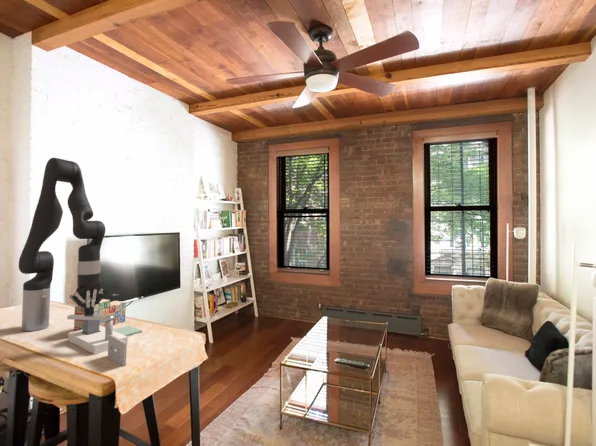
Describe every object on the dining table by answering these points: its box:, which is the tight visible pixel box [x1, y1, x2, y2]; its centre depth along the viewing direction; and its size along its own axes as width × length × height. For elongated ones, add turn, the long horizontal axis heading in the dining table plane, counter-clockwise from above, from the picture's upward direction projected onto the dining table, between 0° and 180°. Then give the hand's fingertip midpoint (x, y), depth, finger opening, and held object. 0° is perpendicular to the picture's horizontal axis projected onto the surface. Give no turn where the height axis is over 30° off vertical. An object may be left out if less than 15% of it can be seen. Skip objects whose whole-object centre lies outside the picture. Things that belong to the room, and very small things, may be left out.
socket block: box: [67, 320, 129, 355], centre depth 126 cm, size 21×12×10 cm, turn 58°
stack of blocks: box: [73, 298, 127, 332], centre depth 144 cm, size 21×6×12 cm, turn 165°
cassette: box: [107, 334, 128, 367], centre depth 111 cm, size 12×2×8 cm, turn 53°
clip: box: [66, 314, 113, 321], centre depth 122 cm, size 16×3×1 cm, turn 92°
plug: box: [83, 312, 100, 335], centre depth 129 cm, size 4×4×10 cm
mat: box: [113, 325, 143, 337], centre depth 138 cm, size 10×10×1 cm
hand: (88, 316), depth 124 cm, fingers closed
